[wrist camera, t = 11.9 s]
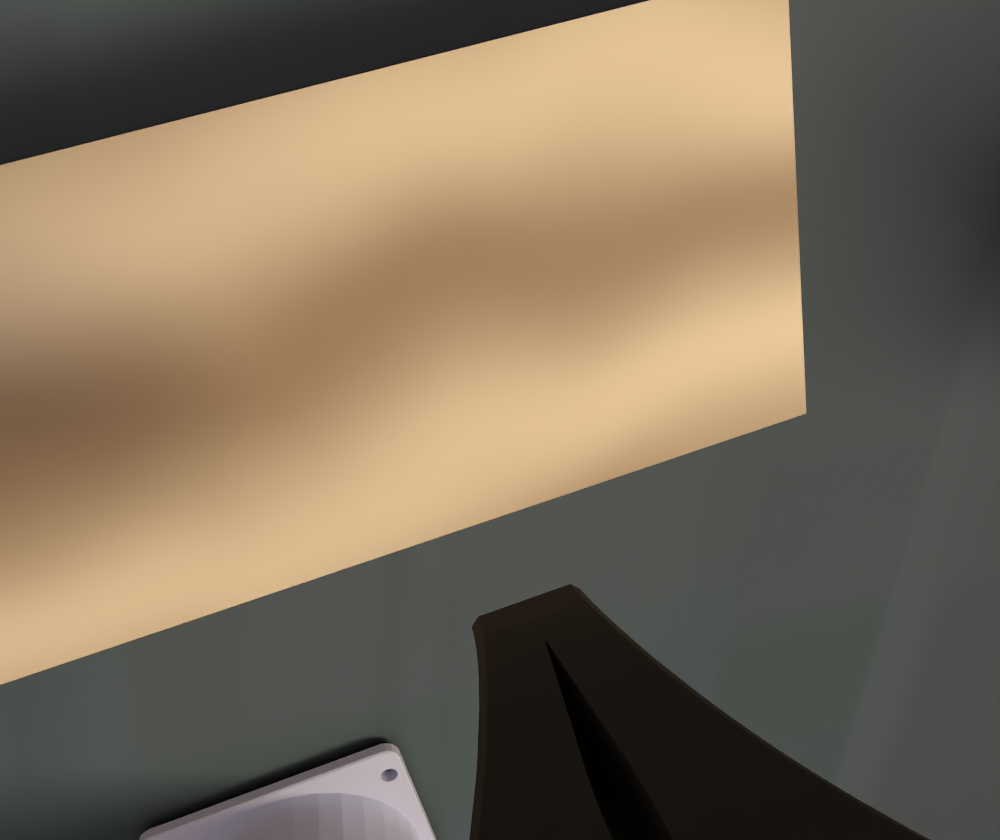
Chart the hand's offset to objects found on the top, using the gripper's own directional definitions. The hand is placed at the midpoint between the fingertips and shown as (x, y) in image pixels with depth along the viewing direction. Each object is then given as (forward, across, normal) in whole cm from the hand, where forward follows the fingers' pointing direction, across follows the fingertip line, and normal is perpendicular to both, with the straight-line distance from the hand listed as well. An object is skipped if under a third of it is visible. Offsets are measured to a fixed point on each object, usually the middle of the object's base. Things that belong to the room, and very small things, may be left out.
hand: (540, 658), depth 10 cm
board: (+10, +4, -2) cm, 11 cm away
